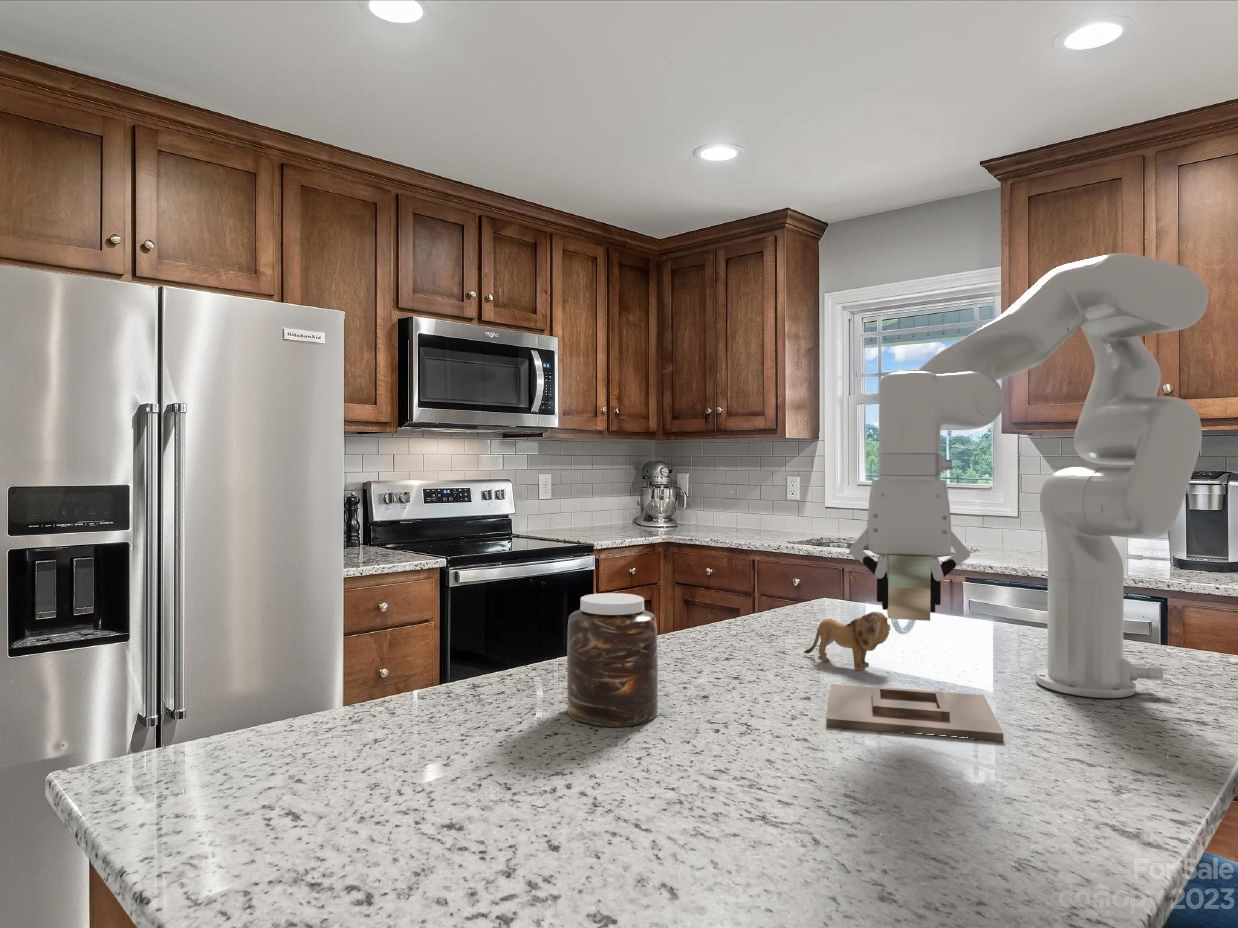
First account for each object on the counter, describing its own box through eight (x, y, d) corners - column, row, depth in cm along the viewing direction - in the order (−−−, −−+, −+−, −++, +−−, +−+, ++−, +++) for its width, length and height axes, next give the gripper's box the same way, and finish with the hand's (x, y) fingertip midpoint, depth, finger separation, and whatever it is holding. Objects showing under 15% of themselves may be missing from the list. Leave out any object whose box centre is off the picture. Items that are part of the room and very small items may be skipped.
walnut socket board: (983, 702, 112) (983, 687, 112) (1003, 741, 96) (1003, 724, 96) (831, 690, 117) (831, 676, 117) (826, 726, 102) (826, 710, 102)
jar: (659, 700, 113) (659, 591, 113) (655, 729, 101) (654, 607, 101) (574, 698, 114) (574, 590, 114) (560, 726, 102) (559, 605, 102)
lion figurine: (895, 668, 130) (895, 611, 130) (881, 674, 126) (881, 616, 126) (811, 653, 140) (811, 600, 140) (795, 659, 136) (795, 604, 136)
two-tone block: (927, 613, 108) (927, 552, 108) (930, 620, 104) (930, 556, 103) (887, 611, 110) (887, 551, 110) (888, 618, 105) (888, 555, 105)
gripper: (976, 468, 108) (975, 607, 108) (841, 467, 112) (840, 600, 113) (985, 469, 101) (983, 618, 101) (840, 468, 105) (839, 610, 105)
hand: (908, 607), depth 107 cm, fingers closed on two-tone block, 5 cm apart
